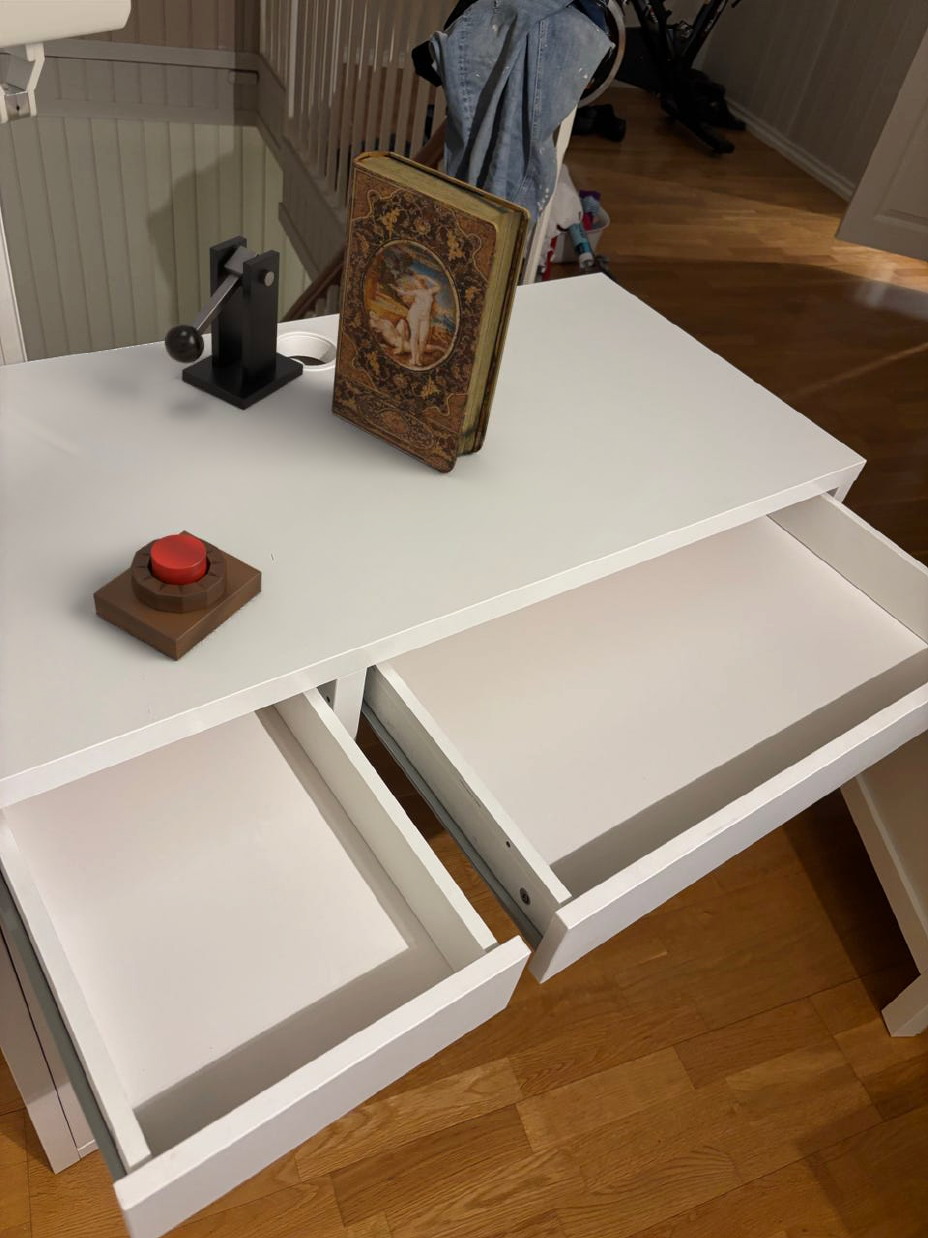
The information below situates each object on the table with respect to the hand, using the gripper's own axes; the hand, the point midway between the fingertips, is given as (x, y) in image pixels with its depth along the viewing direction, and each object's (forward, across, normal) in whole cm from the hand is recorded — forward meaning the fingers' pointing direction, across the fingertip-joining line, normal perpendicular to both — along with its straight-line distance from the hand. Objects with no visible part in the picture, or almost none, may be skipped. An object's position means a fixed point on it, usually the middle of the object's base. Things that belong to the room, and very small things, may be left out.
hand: (10, 118), depth 63 cm
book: (+30, -28, +18) cm, 44 cm away
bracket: (+30, -24, 0) cm, 39 cm away
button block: (+30, +6, +18) cm, 35 cm away
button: (+26, +5, +18) cm, 32 cm away
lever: (+22, -21, 0) cm, 30 cm away
